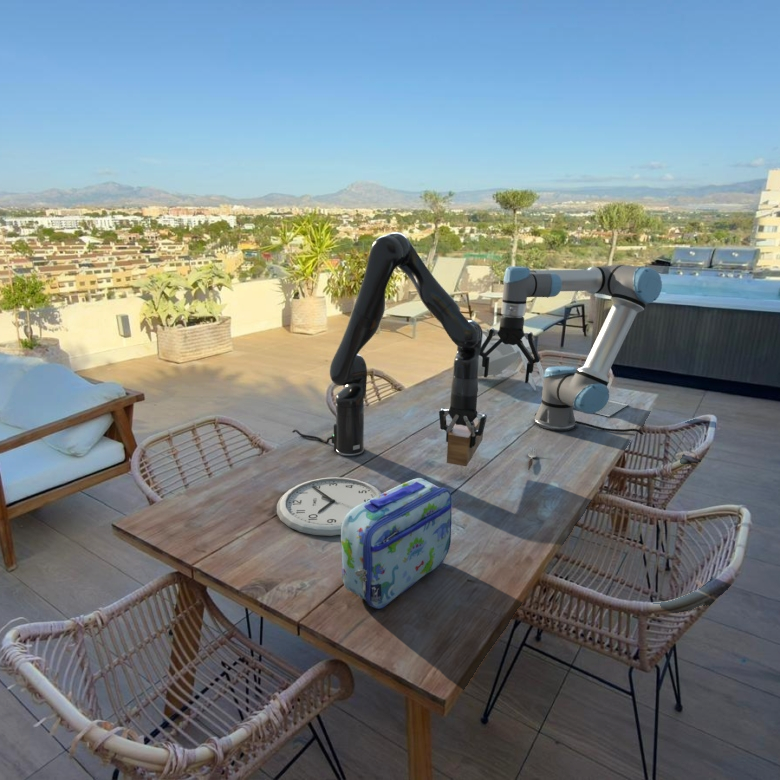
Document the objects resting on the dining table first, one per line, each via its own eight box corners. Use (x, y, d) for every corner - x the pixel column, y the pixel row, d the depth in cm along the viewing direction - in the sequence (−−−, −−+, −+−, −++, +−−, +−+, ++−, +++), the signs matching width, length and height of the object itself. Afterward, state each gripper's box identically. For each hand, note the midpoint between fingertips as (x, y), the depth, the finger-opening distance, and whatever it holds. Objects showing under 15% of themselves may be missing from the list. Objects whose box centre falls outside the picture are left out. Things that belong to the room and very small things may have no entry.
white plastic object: (482, 419, 265) (461, 396, 241) (463, 346, 287) (443, 319, 263) (553, 395, 253) (539, 368, 228) (528, 321, 275) (513, 290, 250)
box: (464, 436, 173) (466, 411, 170) (482, 439, 171) (484, 413, 168) (446, 462, 154) (448, 434, 151) (466, 466, 152) (468, 437, 149)
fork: (524, 470, 165) (524, 465, 164) (529, 451, 179) (529, 446, 179) (532, 472, 164) (533, 466, 163) (537, 452, 178) (537, 447, 178)
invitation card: (608, 416, 214) (573, 407, 224) (608, 416, 214) (573, 408, 224) (628, 404, 229) (594, 396, 238) (628, 405, 229) (594, 397, 238)
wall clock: (392, 527, 129) (268, 531, 127) (391, 533, 130) (269, 537, 127) (383, 473, 158) (282, 475, 155) (383, 478, 158) (282, 480, 156)
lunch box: (370, 622, 101) (370, 527, 94) (335, 595, 108) (333, 505, 102) (455, 565, 118) (460, 481, 112) (420, 544, 125) (423, 465, 119)
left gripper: (436, 391, 149) (433, 445, 154) (486, 398, 144) (482, 454, 149) (443, 384, 155) (440, 436, 160) (491, 390, 150) (487, 444, 155)
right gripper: (471, 313, 169) (466, 376, 176) (551, 321, 161) (542, 387, 167) (477, 311, 176) (472, 371, 182) (553, 318, 167) (545, 381, 173)
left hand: (460, 445), depth 155 cm, fingers closed on box, 6 cm apart
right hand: (505, 379), depth 175 cm, fingers open, 13 cm apart
